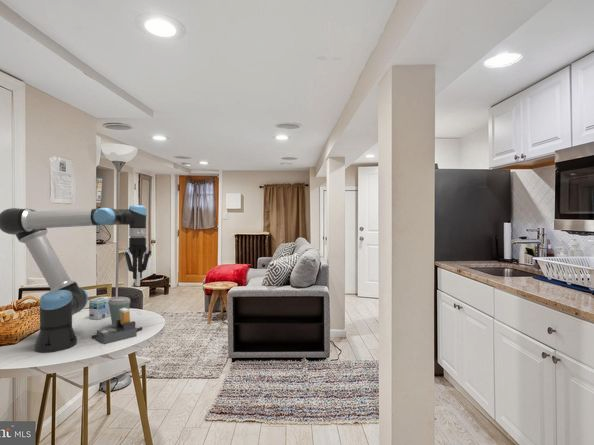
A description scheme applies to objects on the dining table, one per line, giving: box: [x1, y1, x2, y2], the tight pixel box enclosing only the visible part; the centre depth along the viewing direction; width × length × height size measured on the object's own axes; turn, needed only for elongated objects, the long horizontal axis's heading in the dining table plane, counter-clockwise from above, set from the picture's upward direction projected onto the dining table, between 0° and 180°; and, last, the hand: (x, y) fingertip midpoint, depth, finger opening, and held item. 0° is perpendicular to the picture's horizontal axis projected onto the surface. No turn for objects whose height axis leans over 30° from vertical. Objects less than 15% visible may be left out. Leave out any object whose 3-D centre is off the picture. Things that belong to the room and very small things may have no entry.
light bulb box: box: [88, 296, 113, 321], centre depth 203 cm, size 11×7×11 cm, turn 164°
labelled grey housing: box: [95, 320, 138, 345], centre depth 166 cm, size 14×10×7 cm
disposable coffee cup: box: [108, 296, 131, 327], centre depth 184 cm, size 11×11×15 cm
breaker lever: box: [119, 308, 131, 326], centre depth 169 cm, size 2×6×8 cm, turn 48°
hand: (137, 285), depth 174 cm, fingers closed
